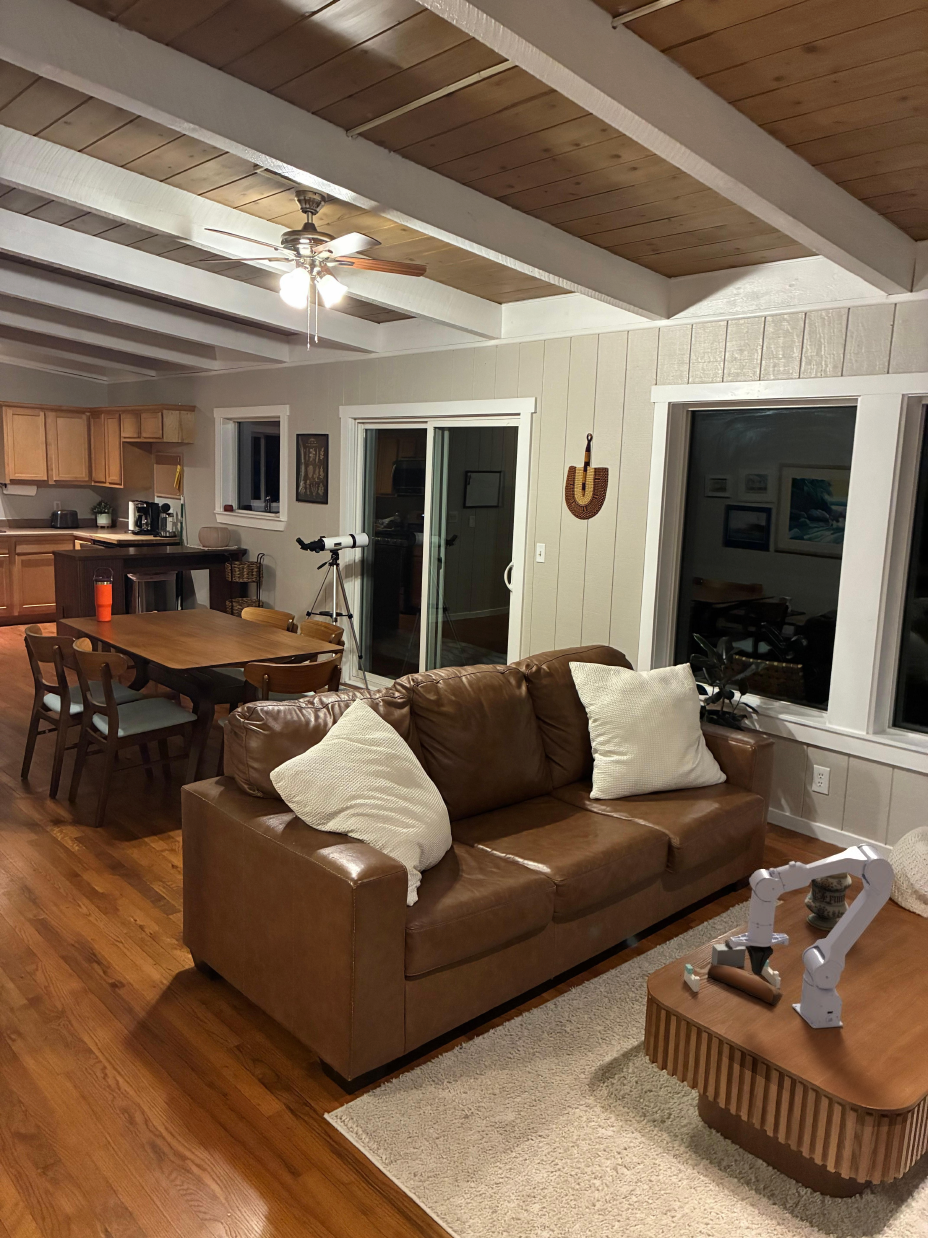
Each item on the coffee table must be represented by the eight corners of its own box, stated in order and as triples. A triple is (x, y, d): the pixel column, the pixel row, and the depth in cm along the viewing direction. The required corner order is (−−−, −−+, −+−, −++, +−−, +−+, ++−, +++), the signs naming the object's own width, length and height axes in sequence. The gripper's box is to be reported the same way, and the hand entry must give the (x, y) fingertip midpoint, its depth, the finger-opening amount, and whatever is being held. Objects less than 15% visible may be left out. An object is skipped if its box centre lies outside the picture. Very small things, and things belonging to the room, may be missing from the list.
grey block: (744, 966, 242) (746, 944, 241) (716, 968, 240) (718, 946, 239) (738, 960, 245) (740, 939, 244) (711, 962, 243) (713, 940, 242)
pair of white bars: (779, 988, 232) (781, 973, 231) (696, 994, 227) (697, 979, 227) (757, 965, 242) (759, 951, 242) (677, 970, 238) (678, 956, 237)
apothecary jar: (842, 937, 260) (849, 878, 257) (798, 925, 266) (805, 867, 263) (849, 921, 270) (856, 863, 268) (807, 909, 276) (813, 853, 274)
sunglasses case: (787, 993, 229) (783, 977, 226) (775, 1016, 225) (771, 1000, 222) (722, 965, 241) (717, 950, 238) (709, 986, 238) (705, 971, 234)
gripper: (780, 911, 223) (774, 962, 225) (725, 914, 221) (720, 966, 223) (795, 925, 217) (790, 977, 219) (739, 928, 214) (734, 981, 216)
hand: (756, 973), depth 220 cm, fingers closed
